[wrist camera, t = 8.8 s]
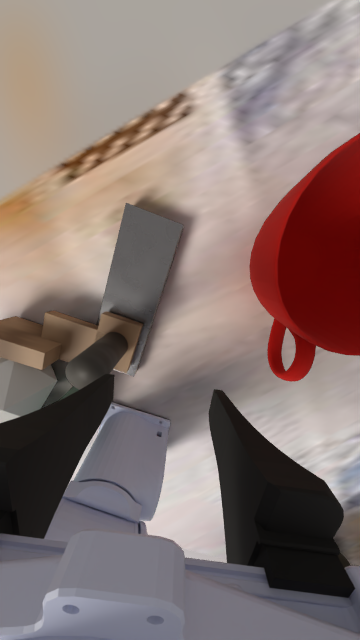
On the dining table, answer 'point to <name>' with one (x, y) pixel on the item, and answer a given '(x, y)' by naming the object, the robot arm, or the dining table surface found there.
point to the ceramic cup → (313, 263)
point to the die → (23, 388)
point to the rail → (140, 270)
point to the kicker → (72, 344)
